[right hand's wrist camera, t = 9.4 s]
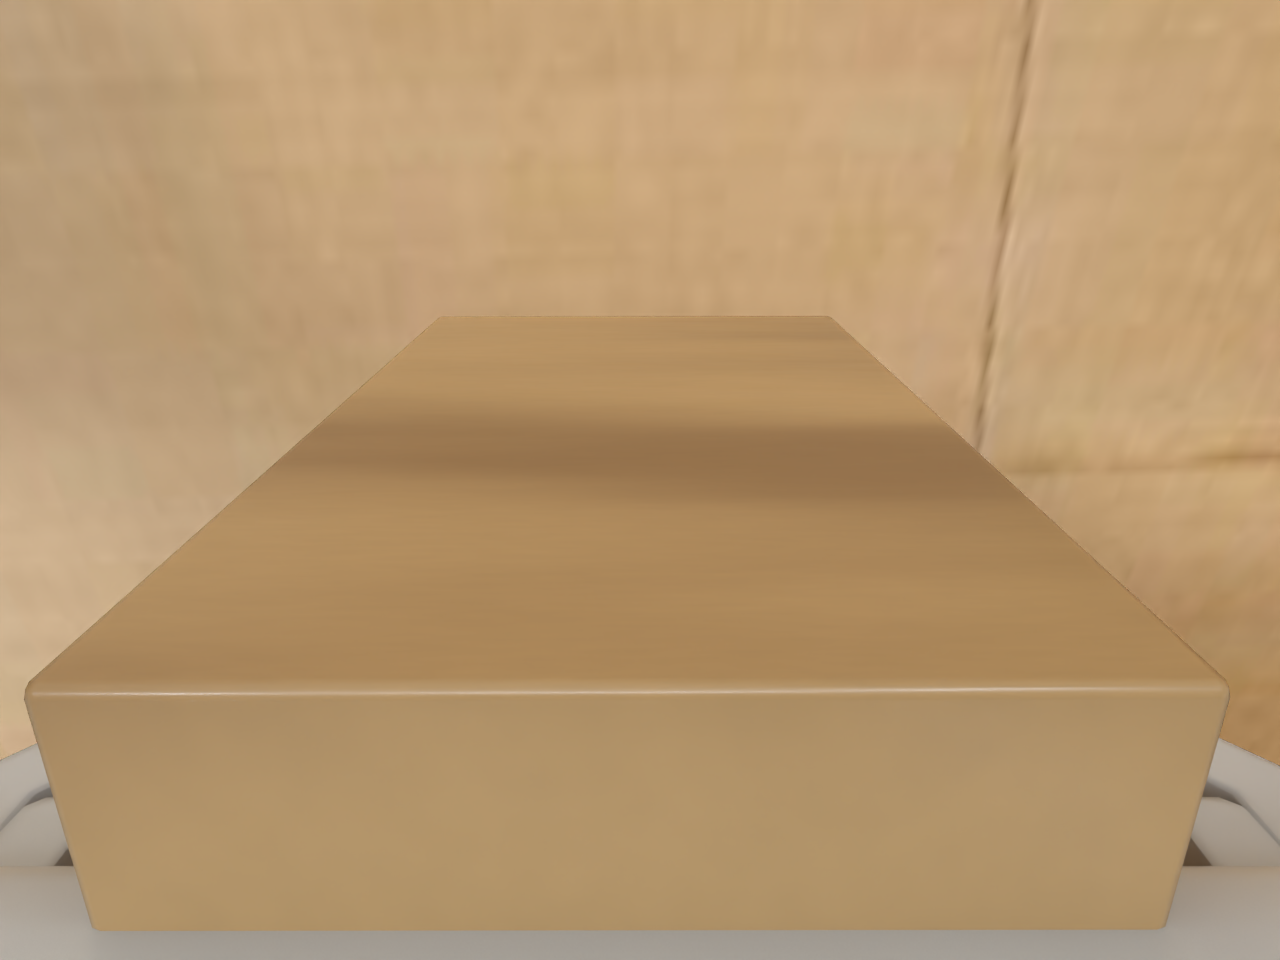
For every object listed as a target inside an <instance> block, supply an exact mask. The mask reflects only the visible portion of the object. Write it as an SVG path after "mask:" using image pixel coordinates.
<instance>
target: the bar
mask: <svg viewBox="0 0 1280 960" xmlns="http://www.w3.org/2000/svg"><path fill="white" fill-rule="evenodd" d="M1229 700H1230V692H1229V686H1228V684H1227V682H1226V680H1225V679H1224V678H1223V677H1222V676H1221V675H1220V674H1219V673H1218V672H1217V671H1215V670H1214V669H1213V668H1212V667H1211V666H1210V665H1209V664H1208V663H1207V662H1206V661H1205V660H1203V659H1202V658H1201V657H1200V656H1199V655H1198V654H1197V653H1196V652H1195V651H1194V650H1193V649H1191V648H1190V647H1189V646H1188V645H1187V644H1186V643H1185V642H1184V641H1183V640H1182V639H1181V638H1180V637H1178V636H1177V635H1176V634H1175V633H1174V632H1173V631H1172V630H1171V629H1170V628H1169V627H1168V626H1166V625H1165V624H1164V623H1163V622H1162V621H1161V620H1160V619H1159V618H1158V617H1157V616H1156V615H1154V614H1153V613H1152V612H1151V611H1150V610H1149V609H1148V608H1147V607H1146V606H1145V605H1144V604H1142V603H1141V602H1140V601H1139V600H1138V599H1137V598H1136V597H1135V596H1134V595H1133V594H1132V593H1131V592H1129V591H1128V590H1127V589H1126V588H1125V587H1124V586H1123V585H1122V584H1121V583H1120V582H1119V581H1117V580H1116V579H1115V578H1114V577H1113V576H1112V575H1111V574H1110V573H1109V572H1108V571H1107V570H1105V569H1104V568H1103V567H1102V566H1101V565H1100V564H1099V563H1098V562H1097V561H1096V560H1095V559H1093V558H1092V557H1091V556H1090V555H1089V554H1088V553H1087V552H1086V551H1085V550H1084V549H1083V548H1081V547H1080V546H1079V545H1078V544H1077V543H1076V542H1075V541H1074V540H1073V539H1072V538H1071V537H1070V536H1068V535H1067V534H1066V533H1065V532H1064V531H1063V530H1062V529H1061V528H1060V527H1059V526H1058V525H1056V524H1055V523H1054V522H1053V521H1052V520H1051V519H1050V518H1049V517H1048V516H1047V515H1046V514H1044V513H1043V512H1042V511H1041V510H1040V509H1039V508H1038V507H1037V506H1036V505H1035V504H1034V503H1032V502H1031V501H1030V500H1029V499H1028V498H1027V497H1026V496H1025V495H1024V494H1023V493H1022V492H1020V491H1019V490H1018V489H1017V488H1016V487H1015V486H1014V485H1013V484H1012V483H1011V482H1010V481H1009V480H1007V479H1006V478H1005V477H1004V476H1003V475H1002V474H1001V473H1000V472H999V471H998V470H997V469H995V468H994V467H993V466H992V465H991V464H990V463H989V462H988V461H987V460H986V459H985V458H983V457H982V456H981V455H980V454H979V453H978V452H977V451H976V450H975V449H974V448H973V447H971V446H970V445H969V444H968V443H967V442H966V441H965V440H964V439H963V438H962V437H961V436H960V435H958V434H957V433H956V432H955V431H954V430H953V429H952V428H951V427H950V426H949V425H948V424H946V423H945V422H944V421H943V420H942V419H941V418H940V417H939V416H938V415H937V414H936V413H934V412H933V411H932V410H931V409H930V408H929V407H928V406H927V405H926V404H925V403H924V402H922V401H921V400H920V399H919V398H918V397H917V396H916V395H915V394H914V393H913V392H912V391H910V390H909V389H908V388H907V387H906V386H905V385H904V384H903V383H902V382H901V381H900V380H899V379H897V378H896V377H895V376H894V375H893V374H892V373H891V372H890V371H889V370H888V369H887V368H885V367H884V366H883V365H882V364H881V363H880V362H879V361H878V360H877V359H876V358H875V357H873V356H872V355H871V354H870V353H869V352H868V351H867V350H866V349H865V348H864V347H863V346H861V345H860V344H859V343H858V342H857V341H856V340H855V339H854V338H853V337H852V336H851V335H849V334H848V333H847V332H846V331H845V330H844V329H843V328H842V327H841V326H840V325H839V324H838V323H836V322H835V321H834V320H833V319H832V318H830V317H828V316H653V317H441V318H438V319H437V320H436V321H435V322H434V323H433V324H431V325H430V326H429V327H428V328H427V329H426V330H425V331H424V332H422V333H421V334H420V335H419V336H418V337H417V338H416V339H415V340H413V341H412V342H411V343H410V344H409V345H408V346H407V347H406V348H404V349H403V350H402V351H401V352H400V353H399V354H398V355H397V356H395V357H394V358H393V359H392V360H391V361H390V362H389V363H388V364H386V365H385V366H384V367H383V368H382V369H381V370H380V371H379V372H377V373H376V374H375V375H374V376H373V377H372V378H371V379H370V380H368V381H367V382H366V383H365V384H364V385H363V386H362V387H361V388H359V389H358V390H357V391H356V392H355V393H354V394H353V395H352V396H350V397H349V398H348V399H347V400H346V401H345V402H344V403H343V404H341V405H340V406H339V407H338V408H337V409H336V410H335V411H334V412H332V413H331V414H330V415H329V416H328V417H327V418H326V419H325V420H323V421H322V422H321V423H320V424H319V425H318V426H317V427H316V428H314V429H313V430H312V431H311V432H310V433H309V434H308V435H307V436H305V437H304V438H303V439H302V440H301V441H300V442H299V443H297V444H296V445H295V446H294V447H293V448H292V449H291V450H290V451H288V452H287V453H286V454H285V455H284V456H283V457H282V458H281V459H279V460H278V461H277V462H276V463H275V464H274V465H273V466H272V467H270V468H269V469H268V470H267V471H266V472H265V473H264V474H263V475H261V476H260V477H259V478H258V479H257V480H256V481H255V482H254V483H252V484H251V485H250V486H249V487H248V488H247V489H246V490H245V491H243V492H242V493H241V494H240V495H239V496H238V497H237V498H236V499H234V500H233V501H232V502H231V503H230V504H229V505H228V506H227V507H225V508H224V509H223V510H222V511H221V512H220V513H219V514H218V515H216V516H215V517H214V518H213V519H212V520H211V521H210V522H209V523H207V524H206V525H205V526H204V527H203V528H202V529H201V530H200V531H198V532H197V533H196V534H195V535H194V536H193V537H192V538H191V539H189V540H188V541H187V542H186V543H185V544H184V545H183V546H182V547H180V548H179V549H178V550H177V551H176V552H175V553H174V554H173V555H171V556H170V557H169V558H168V559H167V560H166V561H165V562H164V563H162V564H161V565H160V566H159V567H158V568H157V569H156V570H155V571H153V572H152V573H151V574H150V575H149V576H148V577H147V578H145V579H144V580H143V581H142V582H141V583H140V584H139V585H138V586H136V587H135V588H134V589H133V590H132V591H131V592H130V593H129V594H127V595H126V596H125V597H124V598H123V599H122V600H121V601H120V602H118V603H117V604H116V605H115V606H114V607H113V608H112V609H111V610H109V611H108V612H107V613H106V614H105V615H104V616H103V617H102V618H100V619H99V620H98V621H97V622H96V623H95V624H94V625H93V626H91V627H90V628H89V629H88V630H87V631H86V632H85V633H84V634H82V635H81V636H80V637H79V638H78V639H77V640H76V641H75V642H73V643H72V644H71V645H70V646H69V647H68V648H67V649H66V650H64V651H63V652H62V653H61V654H60V655H59V656H58V657H57V658H55V659H54V660H53V661H52V662H51V663H50V664H49V665H48V666H46V667H45V668H44V669H43V670H42V671H41V672H40V673H39V674H37V675H36V676H35V677H34V678H33V679H32V680H31V681H30V682H29V683H28V685H27V687H26V689H25V697H24V701H25V704H26V707H27V711H28V714H29V717H30V721H31V724H32V727H33V731H34V734H35V738H36V741H37V744H38V748H39V751H40V754H41V758H42V761H43V764H44V768H45V771H46V774H47V778H48V781H49V785H50V788H51V791H52V795H53V798H54V801H55V805H56V808H57V811H58V815H59V818H60V822H61V825H62V828H63V832H64V835H65V838H66V842H67V845H68V848H69V852H70V855H71V859H72V862H73V865H74V869H75V872H76V875H77V879H78V882H79V885H80V889H81V892H82V895H83V899H84V902H85V906H86V909H87V912H88V916H89V919H90V922H91V926H92V928H94V929H96V930H99V931H499V930H1158V929H1160V928H1163V927H1165V926H1166V923H1167V919H1168V916H1169V912H1170V909H1171V905H1172V901H1173V898H1174V894H1175V891H1176V887H1177V884H1178V880H1179V877H1180V873H1181V870H1182V866H1183V863H1184V859H1185V855H1186V852H1187V848H1188V845H1189V841H1190V838H1191V834H1192V831H1193V827H1194V824H1195V820H1196V817H1197V813H1198V809H1199V806H1200V802H1201V799H1202V795H1203V792H1204V788H1205V785H1206V781H1207V778H1208V774H1209V770H1210V767H1211V763H1212V760H1213V756H1214V753H1215V749H1216V746H1217V742H1218V739H1219V735H1220V732H1221V728H1222V724H1223V721H1224V717H1225V714H1226V710H1227V707H1228V703H1229Z"/></svg>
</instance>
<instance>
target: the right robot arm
mask: <svg viewBox="0 0 1280 960" xmlns="http://www.w3.org/2000/svg"><path fill="white" fill-rule="evenodd" d="M0 960H1280V766H1279V765H1277V764H1275V763H1272V762H1270V761H1268V760H1266V759H1264V758H1262V757H1260V756H1257V755H1255V754H1253V753H1251V752H1249V751H1247V750H1244V749H1242V748H1240V747H1238V746H1236V745H1234V744H1232V743H1229V742H1227V741H1225V740H1223V739H1221V738H1219V739H1218V742H1217V746H1216V749H1215V753H1214V756H1213V760H1212V763H1211V767H1210V770H1209V774H1208V778H1207V781H1206V785H1205V788H1204V792H1203V795H1202V799H1201V802H1200V806H1199V809H1198V813H1197V817H1196V820H1195V824H1194V827H1193V831H1192V834H1191V838H1190V841H1189V845H1188V848H1187V852H1186V855H1185V859H1184V863H1183V866H1182V870H1181V873H1180V877H1179V880H1178V884H1177V887H1176V891H1175V894H1174V898H1173V901H1172V905H1171V909H1170V912H1169V916H1168V919H1167V923H1166V926H1165V927H1163V928H1160V929H1158V930H499V931H99V930H96V929H94V928H92V926H91V922H90V919H89V916H88V912H87V909H86V906H85V902H84V899H83V895H82V892H81V889H80V885H79V882H78V879H77V875H76V872H75V869H74V865H73V862H72V859H71V855H70V852H69V848H68V845H67V842H66V838H65V835H64V832H63V828H62V825H61V822H60V818H59V815H58V811H57V808H56V805H55V801H54V798H53V795H52V791H51V788H50V785H49V781H48V778H47V774H46V771H45V768H44V764H43V761H42V758H41V754H40V751H39V748H38V744H34V745H32V746H30V747H28V748H26V749H24V750H21V751H19V752H17V753H15V754H13V755H10V756H8V757H6V758H4V759H2V760H0Z"/></svg>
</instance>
